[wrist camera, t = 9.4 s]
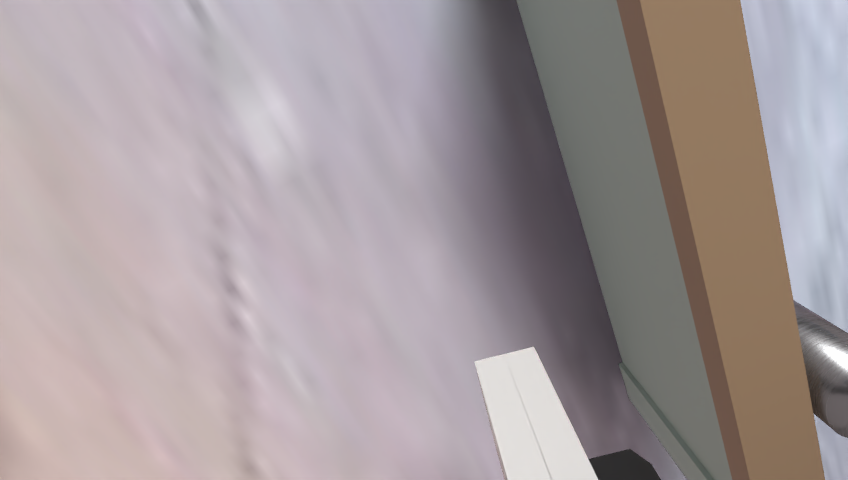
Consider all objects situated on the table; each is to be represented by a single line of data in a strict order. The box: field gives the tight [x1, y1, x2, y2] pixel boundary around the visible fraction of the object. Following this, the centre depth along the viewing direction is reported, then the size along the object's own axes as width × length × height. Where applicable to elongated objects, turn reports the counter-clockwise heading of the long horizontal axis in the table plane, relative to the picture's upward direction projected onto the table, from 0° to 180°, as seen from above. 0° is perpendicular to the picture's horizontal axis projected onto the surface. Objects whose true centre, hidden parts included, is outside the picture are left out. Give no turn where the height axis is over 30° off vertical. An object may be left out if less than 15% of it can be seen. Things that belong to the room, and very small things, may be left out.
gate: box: [516, 0, 825, 480], centre depth 20 cm, size 22×2×11 cm, turn 20°
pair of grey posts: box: [793, 300, 848, 438], centre depth 19 cm, size 32×22×13 cm
